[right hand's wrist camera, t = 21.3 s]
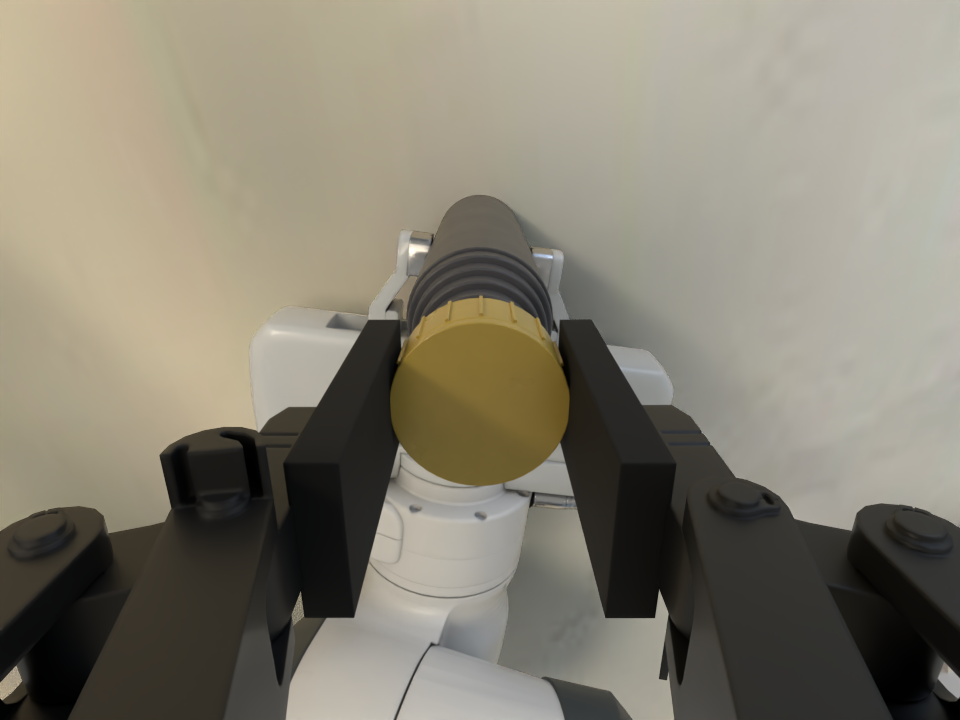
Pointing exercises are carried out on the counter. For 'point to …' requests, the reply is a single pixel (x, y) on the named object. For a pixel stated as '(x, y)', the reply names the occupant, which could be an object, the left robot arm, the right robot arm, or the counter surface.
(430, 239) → the left robot arm
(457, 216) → the bottle
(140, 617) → the right robot arm
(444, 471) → the cap
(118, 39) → the counter surface
